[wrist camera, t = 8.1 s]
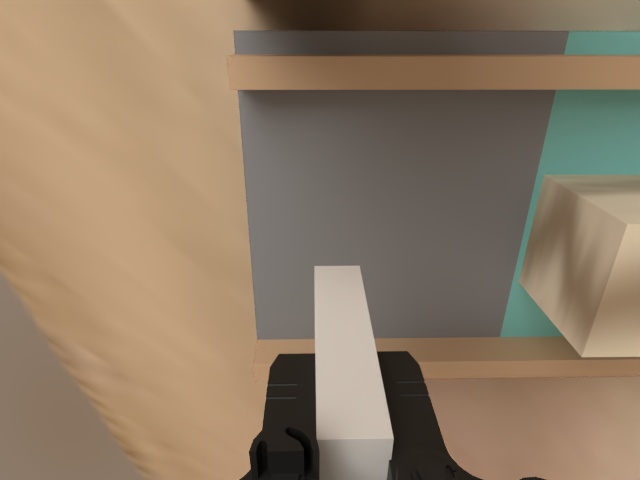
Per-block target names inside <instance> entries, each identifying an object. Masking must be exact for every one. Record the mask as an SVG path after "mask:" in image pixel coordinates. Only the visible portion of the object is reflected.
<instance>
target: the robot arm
mask: <svg viewBox="0 0 640 480" xmlns="http://www.w3.org/2000/svg"><path fill="white" fill-rule="evenodd" d="M314 301H315V353H300V354H278V356H277V357H276V359H275V360H274V362H273V363H272V365H271V366H270V369H269V378H268V387H267V395H266V403H265V411H264V420H263V428H262V431H261V432H260V433H259V434H258V435H257V437H256V438H255V439H254V440H253V443H252V445H251V448H250V451H249V455H250V464H251V470H250V471H249V472H248V473H247V474H246V475H245V476H244V477H242V478H241V479H240V480H482V479H480V478H477V477H475V476H472V475H471V474H469V473H468V472H466V471H464V470H463V469H462V468H461V467H460V466H458V464H457V463H456V462H455V461H454V460H453V459H452V458H451V456H450V455H449V454H448V451H447V449H446V447H445V444H444V441H443V438H442V435H441V432H440V428H439V425H438V422H437V419H436V416H435V413H434V409H433V406H432V403H431V400H430V397H429V396H428V390H427V387H426V384H425V383H424V378H423V374H422V371H421V368H420V365H419V364H418V362H417V361H416V360H415V359H414V358H413V357H412V356H411V354H410V353H409V352H408V351H376V346H375V341H374V336H373V331H372V326H371V321H370V316H369V311H368V306H367V301H366V296H365V290H364V285H363V280H362V275H361V270H360V266H314ZM520 480H545V479H541V478H538V477H527V478H522V479H520Z"/></svg>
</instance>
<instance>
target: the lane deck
mask: <svg viewBox="0 0 640 480" xmlns="http://www.w3.org/2000/svg"><path fill="white" fill-rule="evenodd" d="M234 44H235V55H231V56H227V65H228V76H229V88H230V90H238V96H239V109H240V122H241V135H242V148H243V161H244V173H245V186H246V199H247V212H248V225H249V238H250V251H251V264H252V277H253V290H254V303H255V316H256V329H257V345H256V350H255V356H254V361H253V369H254V381H268V378H269V369H270V366H271V365H272V363H273V362H274V360H275V359H276V357H277V356H278V354H300V353H315V301H314V266H360V270H361V275H362V280H363V285H364V290H365V296H366V301H367V306H368V311H369V316H370V321H371V326H372V331H373V336H374V341H375V346H376V351H408V352H409V353H410V354H411V356H412V357H413V358H414V359H415V360H416V361H417V362H418V364H419V365H420V368H421V371H422V374H423V378H424V379H458V378H539V377H620V376H640V357H581V356H580V355H579V353H578V352H577V351H576V350H575V349H574V348H573V346H572V345H571V344H570V343H569V342H568V340H567V339H566V338H565V337H564V336H563V334H562V333H561V332H560V331H559V330H558V328H557V327H556V326H555V325H554V324H553V323H552V321H551V320H550V319H549V318H548V317H547V315H546V314H545V313H544V312H543V311H542V309H541V308H540V307H539V306H538V305H537V304H536V302H535V301H534V300H533V299H532V298H531V296H530V295H529V294H528V293H527V292H526V290H525V289H524V288H523V287H522V286H521V285H520V283H519V282H518V281H519V277H520V273H521V269H522V265H523V261H524V256H525V252H526V248H527V244H528V240H529V236H530V231H531V227H532V223H533V219H534V215H535V210H536V206H537V202H538V198H539V194H540V190H541V185H542V181H543V177H544V175H640V31H234Z"/></svg>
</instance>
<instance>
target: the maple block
mask: <svg viewBox="0 0 640 480" xmlns="http://www.w3.org/2000/svg"><path fill="white" fill-rule="evenodd" d="M518 282H519V283H520V285H521V286H522V287H523V288H524V289H525V290H526V292H527V293H528V294H529V295H530V296H531V298H532V299H533V300H534V301H535V302H536V304H537V305H538V306H539V307H540V308H541V309H542V311H543V312H544V313H545V314H546V315H547V317H548V318H549V319H550V320H551V321H552V323H553V324H554V325H555V326H556V327H557V328H558V330H559V331H560V332H561V333H562V334H563V336H564V337H565V338H566V339H567V340H568V342H569V343H570V344H571V345H572V346H573V348H574V349H575V350H576V351H577V352H578V353H579V355H580V356H581V357H640V175H544V177H543V181H542V185H541V190H540V194H539V198H538V202H537V206H536V210H535V215H534V219H533V223H532V227H531V231H530V236H529V240H528V244H527V248H526V252H525V256H524V261H523V265H522V269H521V273H520V277H519V281H518Z"/></svg>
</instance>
